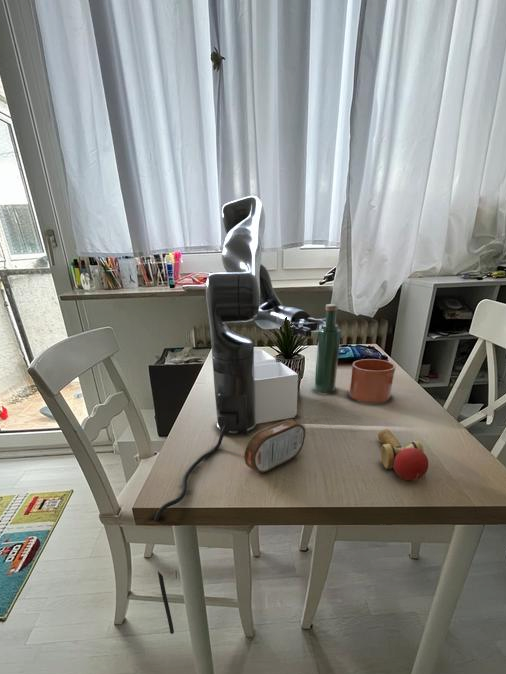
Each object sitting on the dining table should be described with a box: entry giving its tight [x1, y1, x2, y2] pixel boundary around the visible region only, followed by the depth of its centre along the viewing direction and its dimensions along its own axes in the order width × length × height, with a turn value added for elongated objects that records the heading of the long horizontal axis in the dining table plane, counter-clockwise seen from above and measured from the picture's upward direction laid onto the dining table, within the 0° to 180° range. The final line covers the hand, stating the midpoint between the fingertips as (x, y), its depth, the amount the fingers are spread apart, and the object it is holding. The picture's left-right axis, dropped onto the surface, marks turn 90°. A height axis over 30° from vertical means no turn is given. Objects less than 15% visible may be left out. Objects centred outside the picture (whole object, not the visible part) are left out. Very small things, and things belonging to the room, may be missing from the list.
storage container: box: [254, 349, 299, 425], centre depth 104 cm, size 25×11×11 cm, turn 19°
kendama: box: [377, 428, 430, 482], centre depth 77 cm, size 8×6×18 cm
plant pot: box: [348, 358, 397, 404], centre depth 106 cm, size 11×11×9 cm
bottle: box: [314, 303, 342, 394], centre depth 107 cm, size 6×6×23 cm
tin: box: [243, 418, 306, 474], centre depth 77 cm, size 15×3×8 cm, turn 131°
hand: (323, 331), depth 107 cm, fingers open, 8 cm apart
